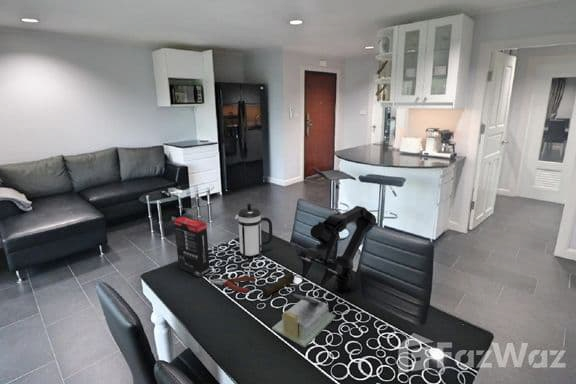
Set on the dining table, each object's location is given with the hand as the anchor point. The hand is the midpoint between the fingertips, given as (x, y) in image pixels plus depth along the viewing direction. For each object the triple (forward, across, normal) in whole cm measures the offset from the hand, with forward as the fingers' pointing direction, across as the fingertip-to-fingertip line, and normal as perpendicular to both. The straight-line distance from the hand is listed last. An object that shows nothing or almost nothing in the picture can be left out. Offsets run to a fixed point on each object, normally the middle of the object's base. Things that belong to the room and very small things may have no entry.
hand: (311, 281), depth 125 cm
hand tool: (+9, -22, +10) cm, 26 cm away
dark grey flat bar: (+7, +3, -3) cm, 8 cm away
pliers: (+17, -40, +1) cm, 43 cm away
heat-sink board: (+15, +3, +2) cm, 15 cm away
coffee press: (+1, -58, +22) cm, 61 cm away
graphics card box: (+21, -64, -6) cm, 67 cm away
